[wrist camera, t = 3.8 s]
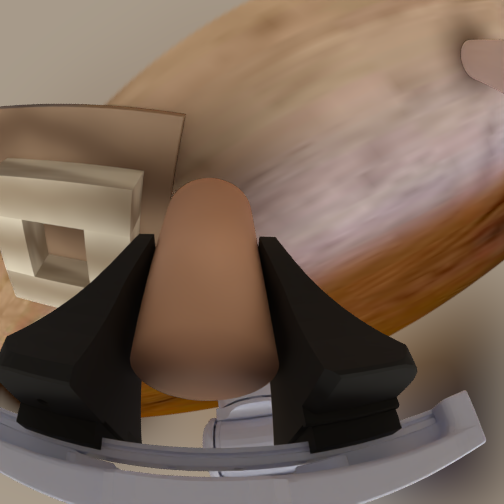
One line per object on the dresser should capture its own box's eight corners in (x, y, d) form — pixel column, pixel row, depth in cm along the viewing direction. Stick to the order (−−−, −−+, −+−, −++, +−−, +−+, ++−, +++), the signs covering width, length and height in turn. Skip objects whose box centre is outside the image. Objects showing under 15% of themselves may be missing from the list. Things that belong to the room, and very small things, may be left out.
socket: (159, 319, 28) (154, 352, 25) (27, 292, 24) (13, 319, 21) (185, 114, 17) (176, 127, 13) (-3, 106, 13) (-35, 121, 10)
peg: (239, 257, 15) (254, 403, 9) (163, 244, 14) (134, 391, 8) (262, 188, 13) (302, 335, 7) (173, 170, 12) (125, 313, 6)
